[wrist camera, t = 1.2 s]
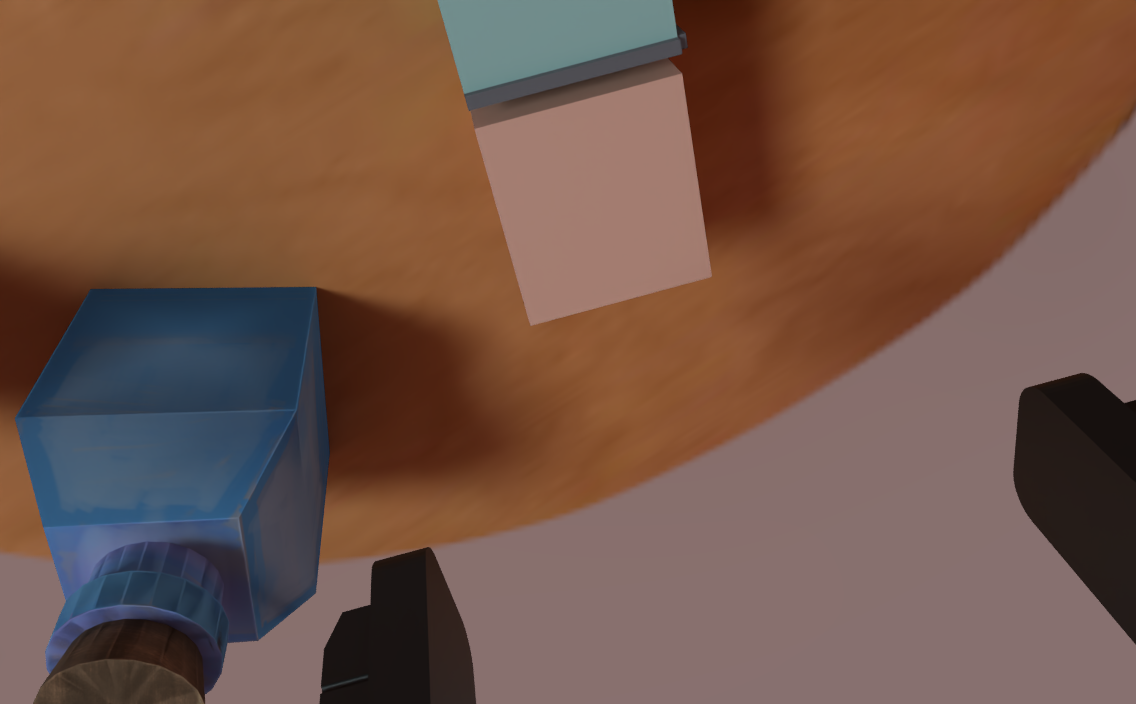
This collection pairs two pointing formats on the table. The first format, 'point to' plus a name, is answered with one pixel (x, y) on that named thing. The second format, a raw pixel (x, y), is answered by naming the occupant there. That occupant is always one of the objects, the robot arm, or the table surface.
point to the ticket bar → (552, 42)
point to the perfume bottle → (176, 483)
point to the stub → (597, 189)
